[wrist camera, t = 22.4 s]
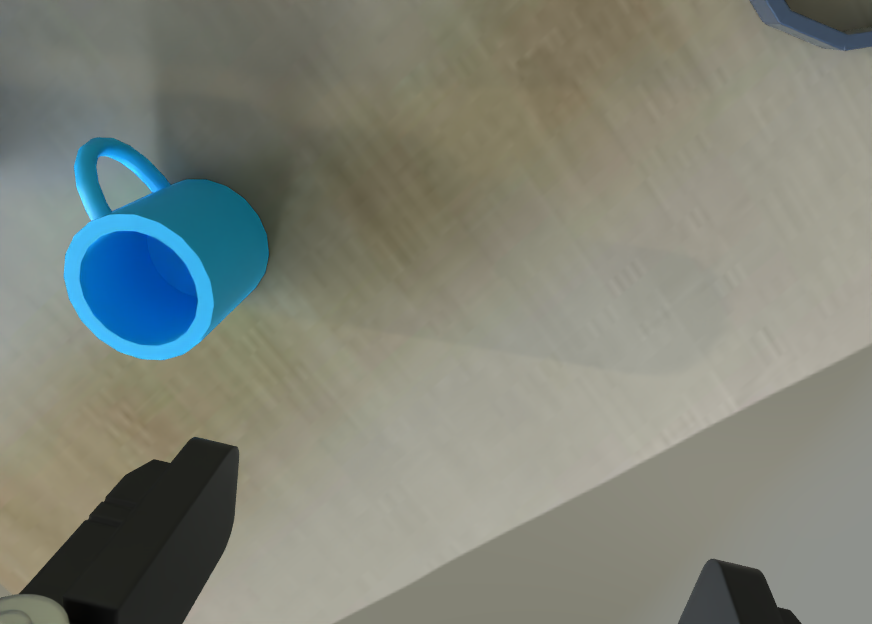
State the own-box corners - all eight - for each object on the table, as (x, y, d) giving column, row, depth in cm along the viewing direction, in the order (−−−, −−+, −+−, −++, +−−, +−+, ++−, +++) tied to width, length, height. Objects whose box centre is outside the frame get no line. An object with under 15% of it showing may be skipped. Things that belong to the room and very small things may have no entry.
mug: (293, 272, 43) (244, 325, 36) (193, 322, 46) (126, 381, 38) (183, 95, 40) (103, 112, 32) (80, 159, 42) (-16, 189, 35)
